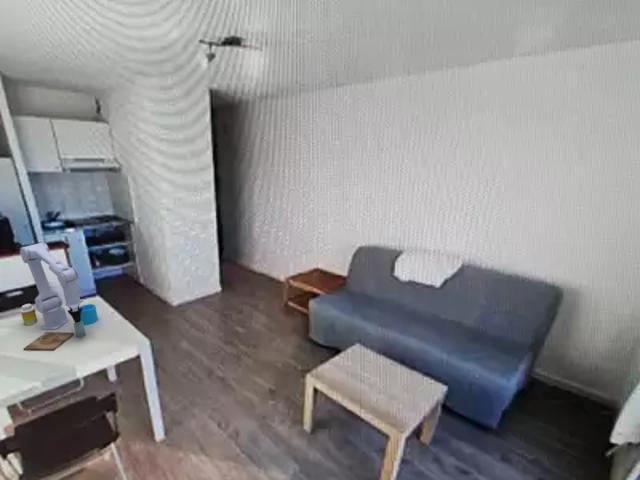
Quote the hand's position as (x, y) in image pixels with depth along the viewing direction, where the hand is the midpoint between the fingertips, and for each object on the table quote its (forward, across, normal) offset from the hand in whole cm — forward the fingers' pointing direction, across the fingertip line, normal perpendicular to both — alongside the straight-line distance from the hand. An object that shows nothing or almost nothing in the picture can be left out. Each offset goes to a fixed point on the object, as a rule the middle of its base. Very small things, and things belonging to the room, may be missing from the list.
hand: (77, 318), depth 173 cm
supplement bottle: (+10, +30, +20) cm, 37 cm away
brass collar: (+9, +2, +12) cm, 16 cm away
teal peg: (+9, 0, 0) cm, 9 cm away
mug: (+10, +16, -5) cm, 19 cm away
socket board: (+9, +2, +12) cm, 16 cm away
